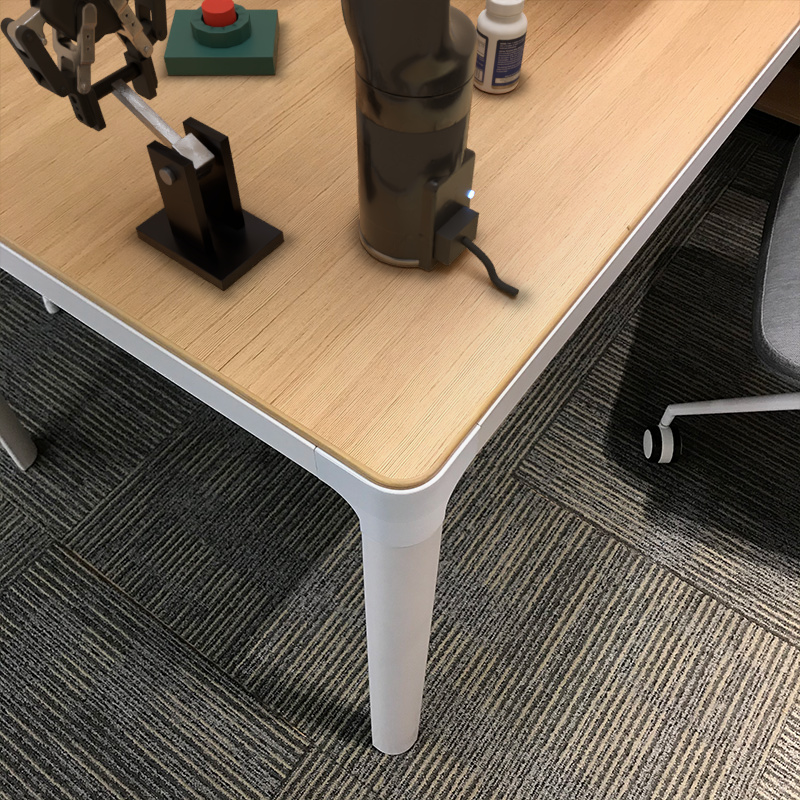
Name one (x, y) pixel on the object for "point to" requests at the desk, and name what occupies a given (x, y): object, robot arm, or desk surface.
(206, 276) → the black lever mount
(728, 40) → the desk surface
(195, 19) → the control block
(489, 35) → the pill bottle
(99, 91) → the lever
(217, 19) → the button
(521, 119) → the desk surface
